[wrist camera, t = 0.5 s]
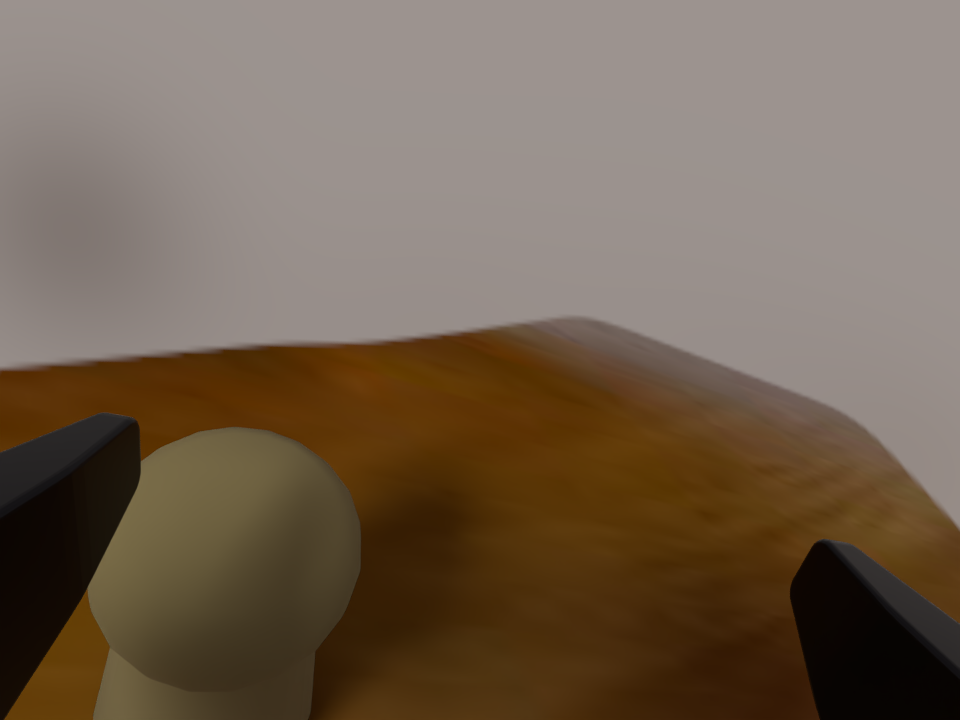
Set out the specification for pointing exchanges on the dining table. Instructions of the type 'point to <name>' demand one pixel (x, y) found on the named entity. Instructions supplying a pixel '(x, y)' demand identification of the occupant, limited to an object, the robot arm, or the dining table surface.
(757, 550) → the dining table surface
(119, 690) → the cork
